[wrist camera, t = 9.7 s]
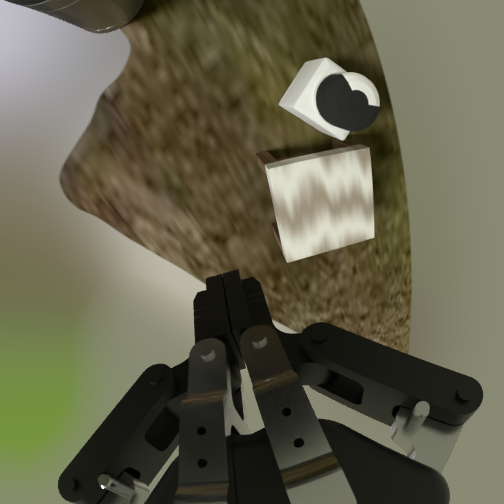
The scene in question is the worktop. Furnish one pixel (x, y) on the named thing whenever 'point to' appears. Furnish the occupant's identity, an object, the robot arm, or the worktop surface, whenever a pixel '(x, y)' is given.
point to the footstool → (321, 198)
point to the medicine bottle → (332, 98)
